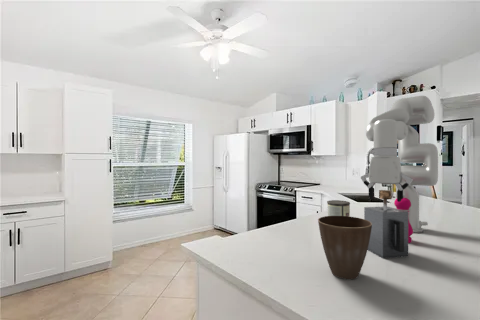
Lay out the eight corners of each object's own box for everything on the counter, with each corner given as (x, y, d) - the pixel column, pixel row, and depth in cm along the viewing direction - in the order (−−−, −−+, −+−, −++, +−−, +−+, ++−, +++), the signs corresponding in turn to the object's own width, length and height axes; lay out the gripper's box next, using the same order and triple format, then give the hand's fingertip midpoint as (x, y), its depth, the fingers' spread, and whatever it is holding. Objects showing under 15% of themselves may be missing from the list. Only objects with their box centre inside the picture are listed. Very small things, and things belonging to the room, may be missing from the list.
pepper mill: (416, 244, 101) (416, 195, 101) (396, 242, 102) (396, 194, 102) (408, 238, 108) (408, 192, 108) (390, 237, 109) (389, 192, 109)
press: (387, 246, 97) (387, 206, 98) (415, 259, 85) (414, 213, 85) (364, 248, 96) (364, 207, 96) (388, 261, 83) (388, 214, 83)
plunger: (386, 233, 96) (386, 189, 96) (401, 239, 89) (401, 191, 89) (370, 234, 95) (370, 189, 95) (383, 240, 88) (383, 191, 88)
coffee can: (329, 226, 127) (329, 199, 127) (351, 229, 122) (351, 201, 122) (324, 231, 119) (324, 202, 119) (348, 235, 113) (348, 204, 113)
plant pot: (345, 291, 65) (344, 229, 65) (308, 268, 78) (307, 217, 78) (384, 280, 71) (383, 224, 71) (343, 260, 84) (343, 213, 84)
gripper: (357, 153, 95) (357, 198, 95) (411, 152, 83) (411, 203, 83) (363, 153, 101) (363, 196, 101) (415, 152, 89) (415, 201, 89)
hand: (385, 199), depth 92 cm, fingers open, 8 cm apart
